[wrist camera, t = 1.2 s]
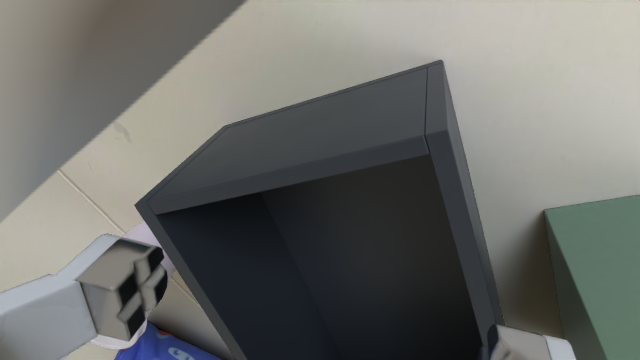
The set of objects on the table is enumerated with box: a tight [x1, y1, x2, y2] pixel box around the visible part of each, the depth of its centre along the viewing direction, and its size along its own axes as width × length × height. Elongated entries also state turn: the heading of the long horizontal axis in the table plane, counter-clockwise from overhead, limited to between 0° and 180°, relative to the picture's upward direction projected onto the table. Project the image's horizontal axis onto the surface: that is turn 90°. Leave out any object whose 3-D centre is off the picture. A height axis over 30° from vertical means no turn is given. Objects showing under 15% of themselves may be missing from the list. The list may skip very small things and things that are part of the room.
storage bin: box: [135, 60, 505, 360], centre depth 25 cm, size 15×25×10 cm, turn 21°
